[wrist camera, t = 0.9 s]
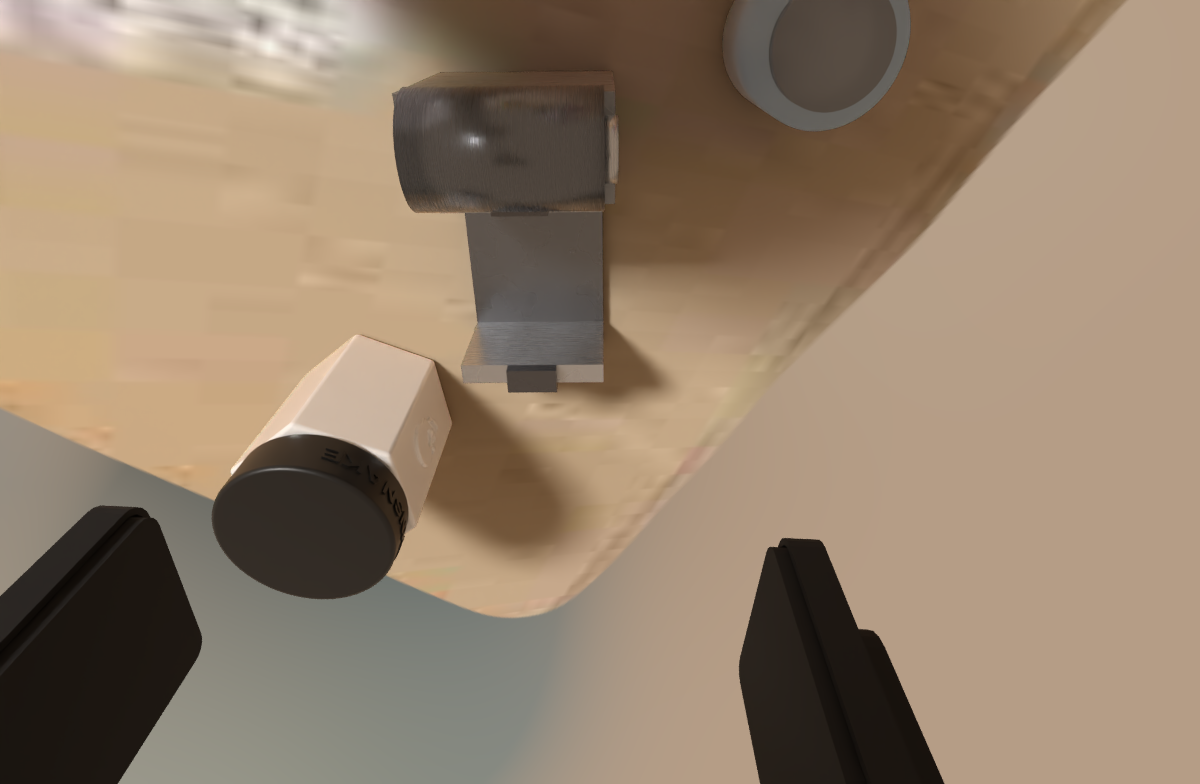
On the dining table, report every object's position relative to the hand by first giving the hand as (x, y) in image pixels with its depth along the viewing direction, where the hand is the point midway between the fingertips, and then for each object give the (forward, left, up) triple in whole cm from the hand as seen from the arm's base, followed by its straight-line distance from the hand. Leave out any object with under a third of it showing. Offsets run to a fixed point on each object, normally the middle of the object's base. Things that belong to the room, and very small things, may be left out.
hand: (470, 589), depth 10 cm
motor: (+2, -1, -26) cm, 26 cm away
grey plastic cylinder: (-6, +11, -26) cm, 29 cm away
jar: (+13, -11, -27) cm, 32 cm away
